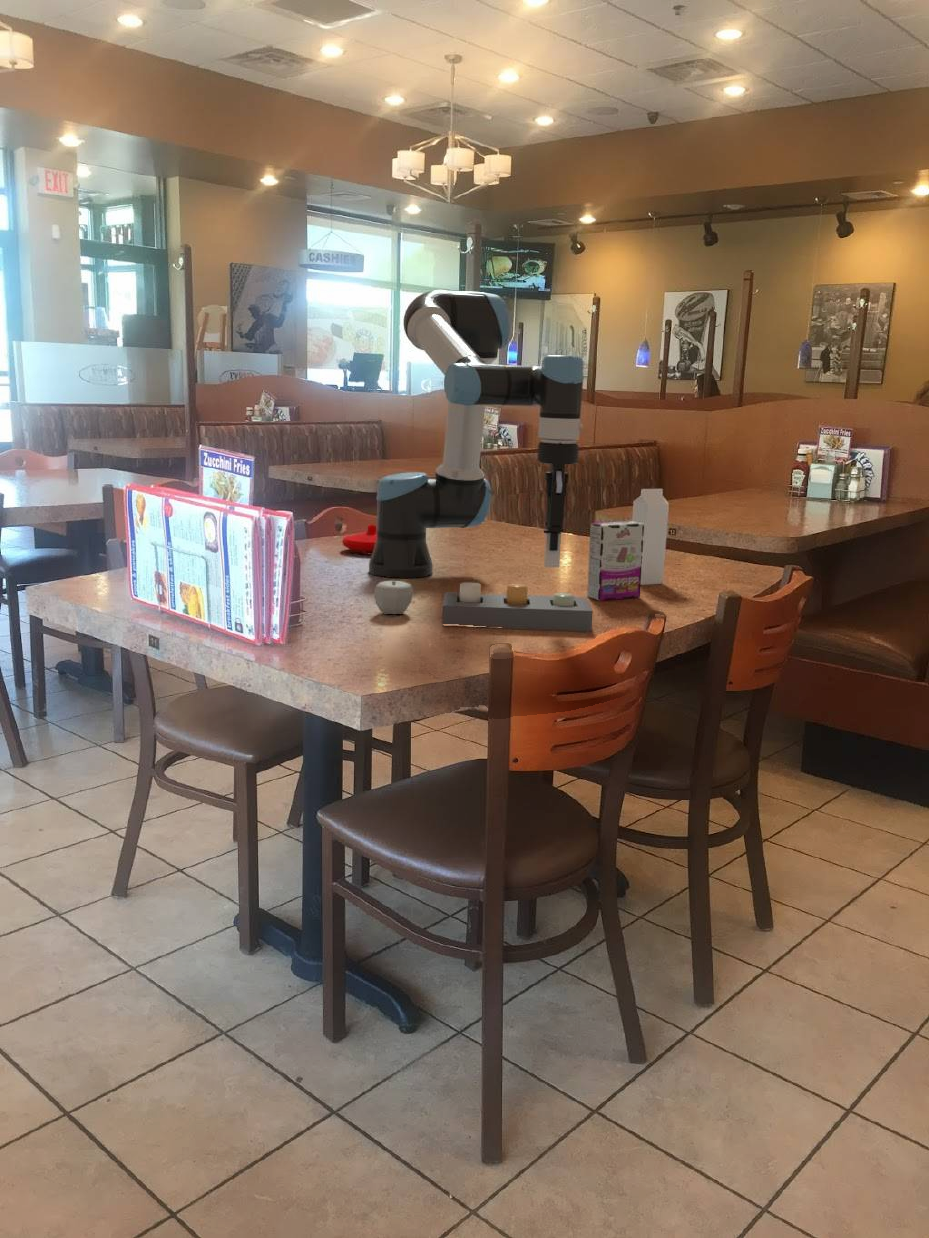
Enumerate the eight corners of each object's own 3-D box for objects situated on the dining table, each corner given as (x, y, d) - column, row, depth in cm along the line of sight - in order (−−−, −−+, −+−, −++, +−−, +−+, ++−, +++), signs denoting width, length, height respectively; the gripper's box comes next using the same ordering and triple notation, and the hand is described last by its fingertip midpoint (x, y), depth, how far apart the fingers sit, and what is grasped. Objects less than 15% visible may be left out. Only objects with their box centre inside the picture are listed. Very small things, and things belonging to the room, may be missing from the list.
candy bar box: (626, 593, 223) (632, 520, 219) (640, 598, 219) (646, 523, 215) (585, 596, 218) (589, 522, 214) (598, 601, 214) (603, 525, 210)
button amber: (506, 610, 191) (507, 587, 190) (505, 606, 195) (506, 583, 194) (527, 611, 191) (528, 588, 190) (526, 607, 195) (527, 584, 194)
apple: (397, 620, 191) (398, 586, 190) (364, 614, 195) (365, 581, 194) (421, 613, 198) (422, 580, 196) (388, 607, 202) (389, 575, 200)
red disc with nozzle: (350, 545, 274) (350, 520, 273) (406, 548, 272) (407, 523, 271) (335, 555, 259) (335, 528, 258) (394, 558, 257) (395, 531, 256)
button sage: (552, 620, 191) (554, 597, 190) (551, 615, 195) (552, 592, 194) (573, 620, 191) (575, 598, 190) (572, 616, 195) (573, 593, 194)
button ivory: (459, 609, 191) (459, 586, 190) (459, 604, 195) (460, 582, 194) (480, 610, 191) (480, 586, 190) (480, 605, 195) (480, 582, 194)
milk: (662, 584, 235) (671, 490, 230) (641, 585, 233) (648, 490, 228) (648, 579, 241) (656, 487, 235) (626, 580, 238) (634, 487, 233)
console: (442, 626, 188) (442, 605, 187) (444, 612, 199) (445, 592, 198) (591, 631, 187) (592, 611, 186) (585, 617, 199) (586, 597, 198)
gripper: (582, 444, 179) (574, 573, 185) (575, 439, 192) (567, 561, 197) (541, 443, 179) (534, 572, 185) (536, 438, 192) (529, 559, 197)
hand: (551, 566), depth 191 cm, fingers closed
